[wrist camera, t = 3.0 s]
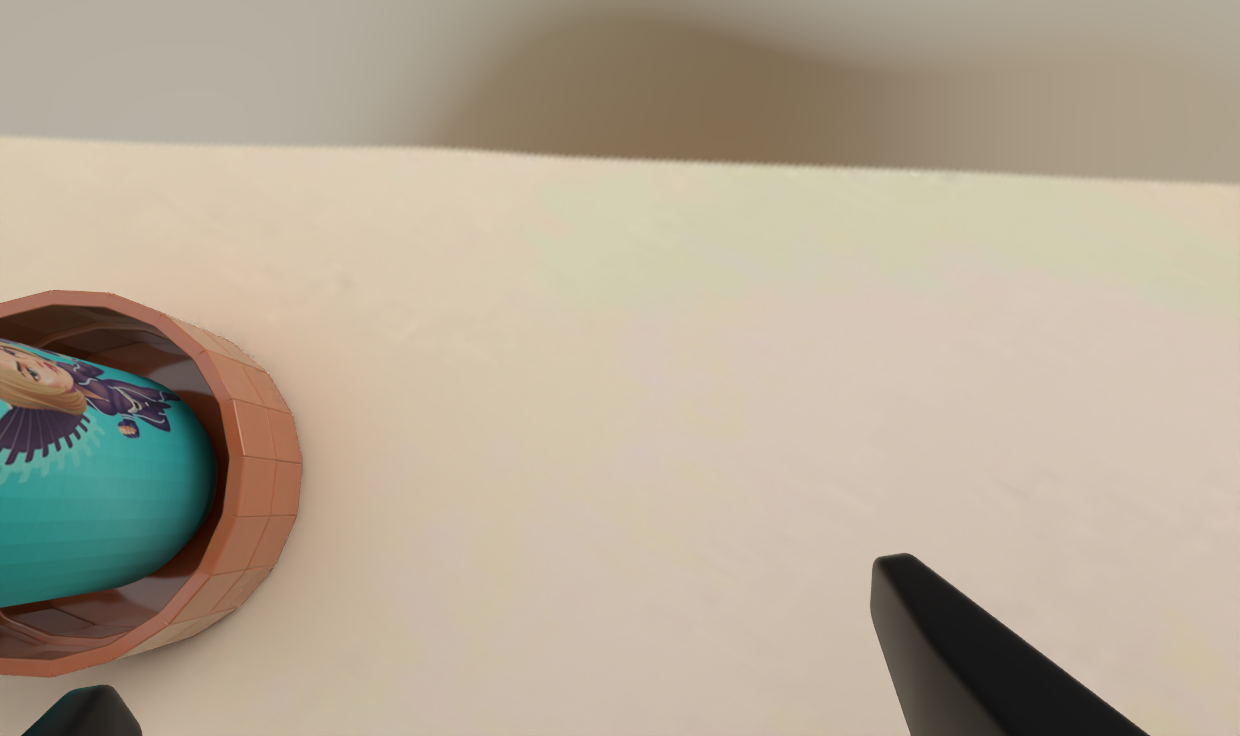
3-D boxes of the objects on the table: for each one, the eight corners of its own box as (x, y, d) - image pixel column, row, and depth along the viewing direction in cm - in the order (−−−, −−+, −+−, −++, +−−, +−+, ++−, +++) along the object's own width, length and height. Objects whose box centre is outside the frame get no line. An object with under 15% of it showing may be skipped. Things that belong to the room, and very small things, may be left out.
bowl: (220, 698, 23) (138, 738, 19) (-76, 576, 24) (-214, 590, 20) (355, 389, 25) (304, 368, 21) (72, 280, 25) (-29, 238, 21)
